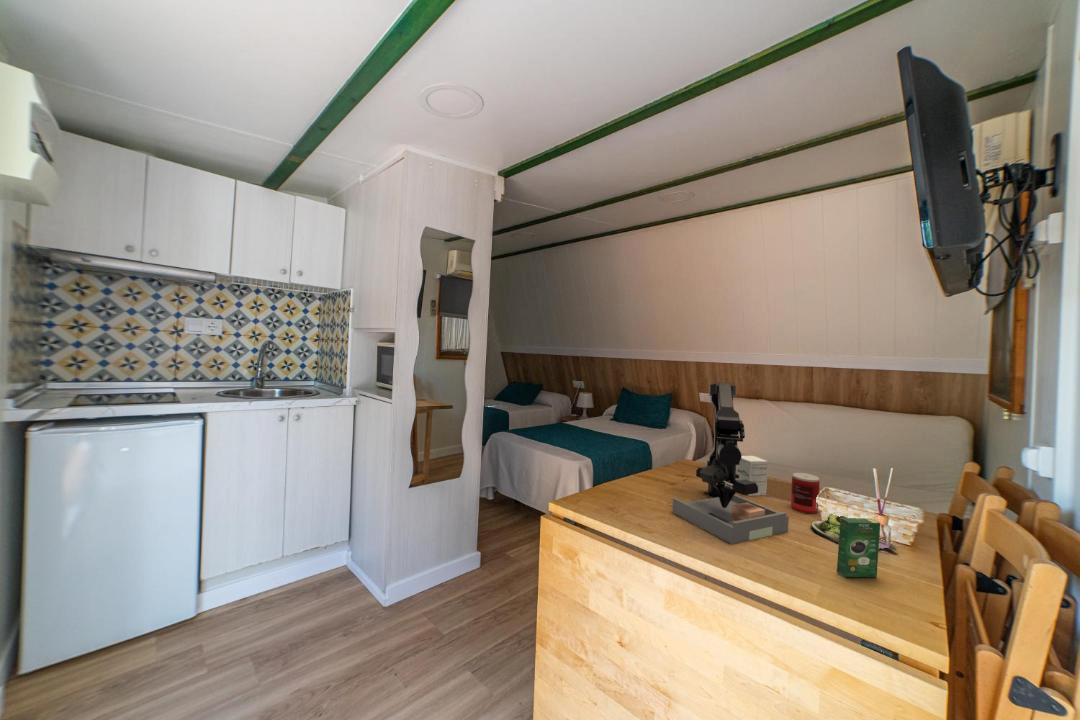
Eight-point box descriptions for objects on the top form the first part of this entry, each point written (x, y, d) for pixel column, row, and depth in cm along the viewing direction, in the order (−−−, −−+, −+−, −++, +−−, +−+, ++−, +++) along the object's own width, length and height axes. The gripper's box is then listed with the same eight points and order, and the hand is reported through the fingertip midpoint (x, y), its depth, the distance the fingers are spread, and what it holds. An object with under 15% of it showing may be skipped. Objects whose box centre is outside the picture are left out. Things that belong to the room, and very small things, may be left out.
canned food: (810, 505, 143) (811, 473, 143) (823, 514, 135) (825, 480, 135) (786, 504, 144) (787, 471, 144) (798, 513, 136) (799, 479, 136)
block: (731, 520, 123) (731, 504, 123) (746, 517, 125) (747, 502, 125) (748, 528, 117) (749, 512, 117) (764, 525, 120) (765, 509, 119)
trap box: (672, 512, 134) (673, 495, 134) (724, 503, 143) (724, 487, 143) (731, 544, 113) (732, 523, 113) (787, 531, 122) (788, 512, 122)
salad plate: (918, 552, 112) (919, 535, 112) (869, 560, 107) (870, 542, 107) (846, 522, 130) (847, 507, 130) (801, 528, 125) (802, 513, 125)
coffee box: (868, 571, 101) (871, 516, 100) (878, 578, 98) (881, 522, 98) (835, 571, 100) (838, 516, 100) (845, 578, 97) (848, 522, 97)
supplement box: (735, 489, 158) (736, 455, 157) (753, 488, 159) (754, 455, 159) (748, 496, 151) (750, 461, 150) (767, 495, 152) (768, 460, 152)
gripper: (683, 451, 134) (681, 500, 135) (732, 468, 117) (729, 523, 117) (710, 448, 138) (708, 495, 139) (760, 464, 121) (758, 517, 122)
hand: (724, 507), depth 129 cm, fingers closed
